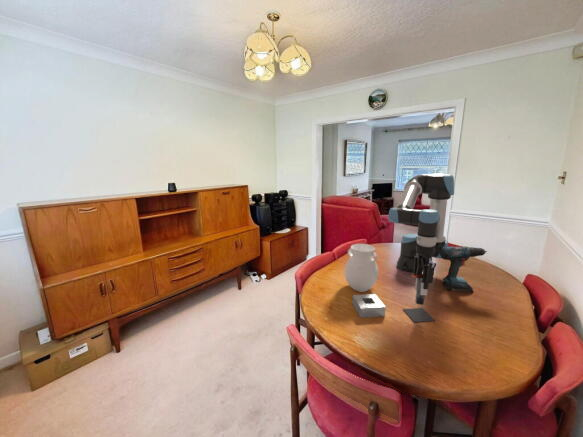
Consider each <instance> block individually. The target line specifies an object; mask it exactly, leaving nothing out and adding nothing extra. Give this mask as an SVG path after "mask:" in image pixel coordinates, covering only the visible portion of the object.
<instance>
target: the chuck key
mask: <svg viewBox="0 0 583 437" xmlns="http://www.w3.org/2000/svg"><path fill="white" fill-rule="evenodd" d="M411 278H412V279H416V278H418V281H417V290H415V291H416V292H415V303H416V304H417V305H421V306H423V305H424V304H425V296H426V295H420V292H421V281H423V273H422V274H414V273H412V275H411Z"/></svg>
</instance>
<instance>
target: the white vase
mask: <svg viewBox="0 0 583 437" xmlns="http://www.w3.org/2000/svg"><path fill="white" fill-rule="evenodd" d="M347 255H348V257H349V259H348V261H347V262H346V263H345V268H344V277H345V281H346V282H347V284H348V285H349V286H350V288H352V289H353V290H354V291H357V292H361V293H363V292H364V293H365V292H368V291H369V290H370V289H372V287H373V286H374V285H375V284H376V282H377V280H378V277H379V266H378V264H377V260H378V254H377V253H376V247H374V246H373V245H371V244H368V243H355V244H352V245H351V246H350V247H349V249H348V250H347Z"/></svg>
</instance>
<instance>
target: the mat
mask: <svg viewBox="0 0 583 437" xmlns="http://www.w3.org/2000/svg"><path fill="white" fill-rule="evenodd" d="M402 311H403V312H404V313H405V314H406V315H407V316H408V318H409V319H410V320H411V321H412V322H413V323H414V324H415V323H427V322H428V323H429V322H436V319H435V318H434V317H433V316H432V315H431V314H430V313H429V312H427V310H425V309H424V308H423V307H416V308H415V307H414V308H412V307H411V308H402Z"/></svg>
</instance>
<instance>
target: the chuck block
mask: <svg viewBox="0 0 583 437" xmlns="http://www.w3.org/2000/svg"><path fill="white" fill-rule="evenodd" d="M352 306H353V307H354V309H355V311H356V313H357V315H358V317H359V318H360V319H365V318H377V317H378V318H379V317H386V310H387V309H386V305H385V304H384V303H383V301H382V300H381V298H379V297H378V295H377V294H376V293H366V294H364V293H363V294H353V295H352Z"/></svg>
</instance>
